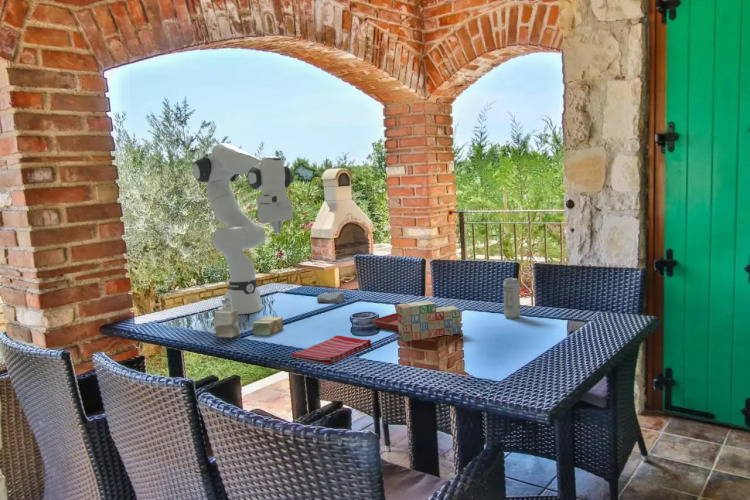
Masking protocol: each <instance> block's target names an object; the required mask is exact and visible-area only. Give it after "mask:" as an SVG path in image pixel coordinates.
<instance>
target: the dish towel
mask: <svg viewBox="0 0 750 500" xmlns="http://www.w3.org/2000/svg"><path fill="white" fill-rule="evenodd" d="M372 345H373V344H372V341H371V339H370V338H369V339H361V338H357V337H349V336H345V335H334V336H332V337H331V338H329V339H327V340H324V341H322V342H319V343H316V344H314V345H313V346H310V347H307V348H305V349H303V350H300V351H297V352H293V353H291V354H290V358H291V359H294V358H296V359H295V360H300V359H301V361H307V362H312V363H318V364H324V365H330V364H333V363H336V362H338V361H340V360H343V359H346V358H348V357H350V356H352V355H355V354H357V353H359V352H361V351H364V350H365V349H367V348H370V347H371V346H372Z"/></svg>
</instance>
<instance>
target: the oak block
mask: <svg viewBox="0 0 750 500" xmlns="http://www.w3.org/2000/svg"><path fill="white" fill-rule="evenodd" d="M283 329H284V324H283V317H281V316H266V317H262V318H261V319H258V320H256V321H254V322H252V331H253V333H252V334H253V335H263V336H264V335H265V336H270V335H272V334H274V333H277V332H278V331H281V330H283Z"/></svg>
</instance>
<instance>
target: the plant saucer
mask: <svg viewBox="0 0 750 500" xmlns="http://www.w3.org/2000/svg"><path fill="white" fill-rule="evenodd" d="M397 313H398V311H397V312H394V313H391V314H388V315H385V316H380V317H377V318H374V319H371V322H372V323H373V324H374V325H375V326H376V327H378V328H380V329H387V330H391V331H397V332H399V331H398V330H399V329H398V318H397Z"/></svg>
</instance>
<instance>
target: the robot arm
mask: <svg viewBox="0 0 750 500" xmlns="http://www.w3.org/2000/svg"><path fill="white" fill-rule="evenodd" d="M192 173H193V176H194V178H195V180H196V181H197V182H199V183H207V184H206V187H205V188H206V189H205V190H206V193H207V198H208V201H209V204H210V205H211V208H212V210H213V212H214V215H215V217H216V219H217V221H219V222H220V223H221V224H224V225H225V226H223V227H220V228H218V229H215V230H214V232H213V233H212V236H211V237H212V238H211V241H212V245H213V247H214V248H215V249H216V250H217V251H218V252H220V253H221V254H222V255H223V256H224V258H225V260H226V262H227V266H228V271H229V281H228V282H227V284H228V289H227V291H226V293H225V294H224V295H223V296H222V299H221V304H222V306H219V307H217V311H220V310H237V313H238V315H245V314H253V313H257V312H260V311H261V310H262V309H264V308H265V305H264V304H262V300H261V299H262V297H261V294H260V290H259V289H258V288H257V287H258V282H257V278H256V271H255V270H256V269H255V263H254V261H253V260H252V259H251V258H249V257H247V256H246V254H245V253H244V250H247V249H248V250H249V249H254V248H257V247H259V246H261V245H263V244H264V242H265V240H266V232H265V229H264V228H263V226H262V225H260V224H271V227H272V229H273V233H274V234H281V233H282V232H283V231H282V227H283V226H284V225H283V223H284V221H288V220H289V221H290V220H293V219H294V210H293V204H292V202H291V199H290V198H289V197H288V195H287V189H288V188H289V187H290V185H291V184H292V183H293V182H292V181H293V176H294V175H293V172H292V170H291V169H290V167H289V166H288V165H286V164H284V161H283V159H282V157H280V156H277V155H276V156H275V155H267V156H263V157H262V158H261V157H259V156H256V155H253V154H251V153H249V152H248V151H244V150H242V149H240V148H239V147H237V146H235V145H233V144H229V143H225V142H221V143H218V144H216V145H215V146H214V147H212V151H211V155H210V156H205V155H204V156H203V157H200V158H198V159H196V160H195V161H194V162H193V165H192ZM240 175H247V183H248V185H249V187H251V188H252V189H253V190H257V191H262V192H263V193H262V194H260V195H259V196H258V197H257V198H256V203H257V204H258V205H257V218H258V221H259V223H260V224H259V223H256V222H254V221H253V220H251V219H250V218H249V216H247V215H246V214H245V213H244V212H243V210H242V209H241V207H240V205H239V203H238V201H237V200H236V199H237V198H236V197H235V194H234V193H233V191H232V188H231V187H230V182H231V183H234V182H235V181H236V180H237V179H238V177H239V176H240Z"/></svg>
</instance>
